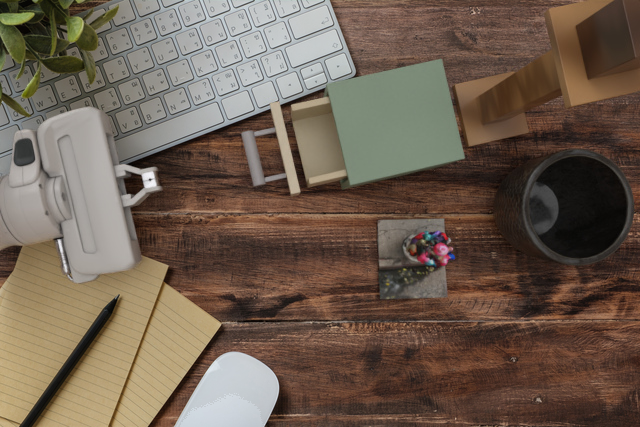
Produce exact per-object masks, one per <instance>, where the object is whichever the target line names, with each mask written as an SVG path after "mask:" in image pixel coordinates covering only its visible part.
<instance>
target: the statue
mask: <svg viewBox="0 0 640 427" xmlns="http://www.w3.org/2000/svg"><path fill="white" fill-rule="evenodd" d="M445 228H446V226H445V218H409V219H408V218H407V219H378V220H376V232H377V233H376V234H377V235H376V237H377V238H376V239H377V259H378V260H377V262H378V266H379V267H378V269H377V275H378V284H379V285H378V286H379V299H380V300H400V299H403V300H406V299H438V298H439V299H441V298H442V299H443V298H448V297H449V296H448V283H447V270H446V265H448V262H449V261H454V260H455V259H456V256H455V254H453V253H452V252H453V251H454V247H453V246H452V245H451V246H450V243H451V242H452V239H451V238H450V237H449V236H447V234H446V229H445Z"/></svg>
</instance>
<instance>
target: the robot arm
mask: <svg viewBox="0 0 640 427" xmlns="http://www.w3.org/2000/svg"><path fill="white" fill-rule="evenodd" d="M12 139H13V140H12V150H11V151H12V152H11V159H10V165H9V166H10V167H9V172H8V173H7V174H5V175H2V176H0V252H1V251H3V250H4V249H6V248H9V247H13V246H21V247H25V246H26V247H27V246H32V245H36V244H41V243H44V242H49V241H54V246H55V249H56V253H57V256H58V259H59V261H60V270H61V273H62V275H63V276H66V278H67V279H68V280H69V281H70V282H72V283H74V284H78V285H82V284H87V283H90V282H94V281H96V280H98V278H100V276H101V275H104V274H105V275H107V274H113V273H114V274H115V273H120V272H125V271H129V270H134V269H136V268H138V267H139V265H140V264H141V263H142V261H143V255H142V252H141V247H140V242H139V239H138V234H137V231H136V227H135V221H134V217H133V213H132V208H133V207H136V206H137V207H138V206H139V205H141V204H142V203H143V202H144V201H145V200H146V199H147V198H148V197H149V196H150V195H151V194H154V193H159V192H163V191H164V188H163V184H162V180H161V176H160V171H159V168H158V167H157V166H151V167H146V168H138V167H135V166H132V165H129V164H126V163H122V164H121V163H120V158H119V154H118V149H117V145H116V141H115V136H114V132H113V129H112V125H111V120H110V116H109V114H107V112H104V111H103V110H102V109H99V108H97V107H95V106H83V107H79V108H75V109H71V110H67V111H65V112H64V111H63V112H62V113H58V114H56V115H53V116H51V117H49V118H46V119H45V120H43V121H42V122H41V123H40V125H39V126H38V128H37V129H30V128H24V129H19V130H16V131H15V133H14V135H13V138H12ZM132 174H136V175H140V176H141V179H142V184H143V188H142V189H141V190H140V191H139V192H137V193H136V194H134V193H133V194H131V193H128V192H127V187H126V184H125V179H126V178H131V177H132Z"/></svg>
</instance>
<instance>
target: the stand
mask: <svg viewBox="0 0 640 427" xmlns="http://www.w3.org/2000/svg"><path fill="white" fill-rule="evenodd" d="M612 1H613V0H582V1H578V2H574V3H569V4H565V5H560V6H554V7H551V8H548V9H547V10H545V12H544V11H543V12H544V13H543V18H544V22H545V27H546V30H547V36H548V39H549V44H550V48H551V49H550V50H548V51H547V52H545V53H544V54H543V53H542V55H540V56H539V57H537V58H535V59H534V60H532V61H531V62H529V63H528V64H526V65H525V66H523V67H521V68H520V69H519V70H517V71H515V70H513V71H508V72H504V73H499V74H495V75H490V76H486V77H481V78H477V79H472V80H468V81H463V82H459V83H454V84H453V85H452V86H451V89H452V93H453V97H454V101H455V102H454V103H455V106H456V111H457V115H458V118H459V124H460V128H461V132H462V137H463V141H464V145H465V148H471V147H476V146H480V145H484V144H488V143H494V142H498V141H501V140H502V141H503V140H505V139H510V138H515V137H519V136H523V135H527V134H529V133H530V130H529V125H528V120H527V117H526V112H528V111H530V110H533V109H535V108H537V107H539V106H542V105H544V104H546V103H549V102H551V101H553V100H555V99H557V98H560V97H562V99H563V104H564V109H566V110H567V109H571V108H577V107H581V106H585V105H589V104H593V103H597V102H603V101H606V100H611V99H615V98H619V97H624V96H628V95H633V94H638V93H640V68H638V69H634V70H629V71H625V72H620V73H616V74H612V75H607V76H603V77H598V78H594V79H590V80H588V78H587V74H586V69H585V65H584V61H583V56H582V52H581V48H580V43H579V39H578V35H577V30H576V25H577V24H579V23H580V22H582V21H583V20H585V19H586V18H588V17H589V16H591V15H592V14H594V13H595V12H597V11H598V10H600V9H601V8H603V7H604V6H606V5H607V4H609V3H610V2H612Z"/></svg>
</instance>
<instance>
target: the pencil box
mask: <svg viewBox="0 0 640 427" xmlns="http://www.w3.org/2000/svg"><path fill="white" fill-rule="evenodd" d="M576 30H577V35H578V39H579V43H580V48H581V52H582V56H583V61H584V65H585V69H586V74H587V78H588V80H590V79H594V78H598V77H603V76H607V75H612V74H616V73H620V72H625V71H629V70H634V69H638V68H640V0H613V1H612V2H610V3H609V4H607V5H606V6H604V7H603V8H601V9H600V10H598V11H597V12H595V13H594V14H592V15H591V16H589V17H588V18H586V19H585V20H583V21H582V22H580V23H579V24H577V25H576Z"/></svg>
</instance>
